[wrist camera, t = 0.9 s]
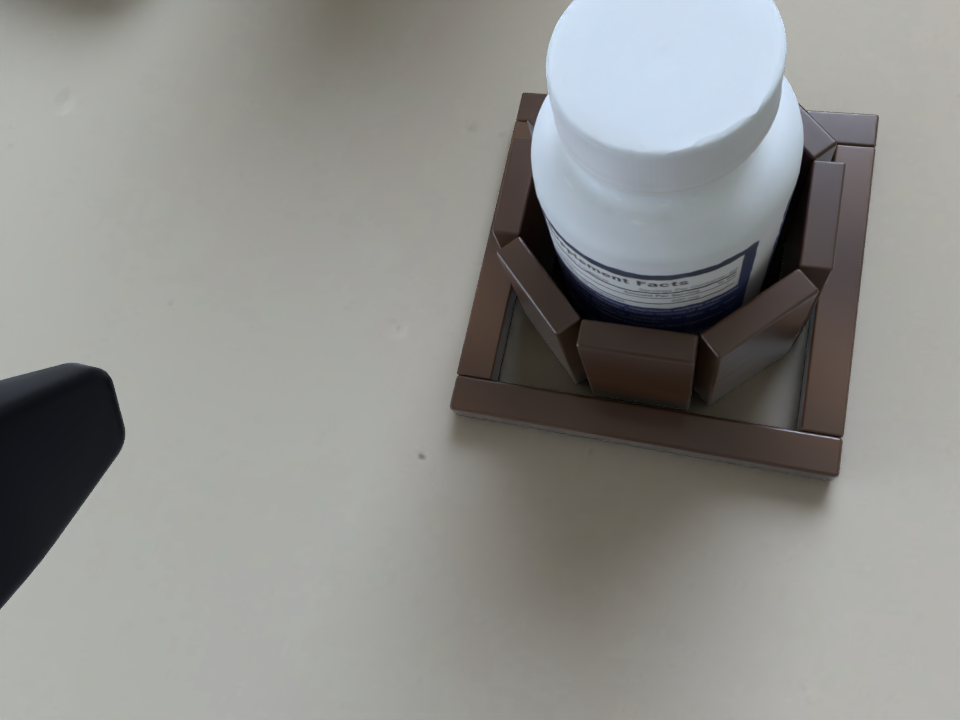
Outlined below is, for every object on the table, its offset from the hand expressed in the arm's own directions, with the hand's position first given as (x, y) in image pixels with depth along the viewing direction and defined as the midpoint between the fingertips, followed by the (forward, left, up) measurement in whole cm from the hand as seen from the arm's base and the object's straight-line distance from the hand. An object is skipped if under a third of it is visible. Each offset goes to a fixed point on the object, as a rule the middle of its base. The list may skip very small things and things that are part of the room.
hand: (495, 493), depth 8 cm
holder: (+8, 0, -14) cm, 16 cm away
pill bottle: (+8, 0, -14) cm, 16 cm away
